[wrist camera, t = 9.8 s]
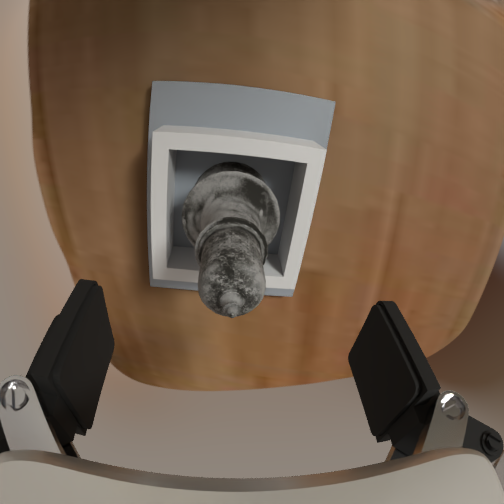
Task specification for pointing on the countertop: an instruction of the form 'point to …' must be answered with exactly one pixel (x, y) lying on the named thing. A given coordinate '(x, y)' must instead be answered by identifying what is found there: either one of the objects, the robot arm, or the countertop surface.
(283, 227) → the holder
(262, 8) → the countertop surface
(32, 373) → the robot arm
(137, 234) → the countertop surface
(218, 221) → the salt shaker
